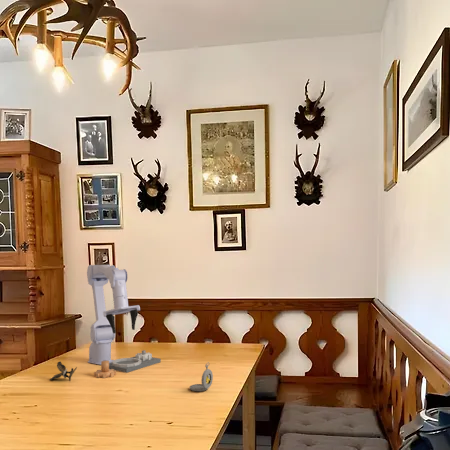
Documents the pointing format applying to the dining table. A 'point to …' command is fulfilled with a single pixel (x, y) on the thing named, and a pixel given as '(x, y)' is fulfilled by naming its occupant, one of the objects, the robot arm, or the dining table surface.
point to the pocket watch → (204, 381)
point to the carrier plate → (134, 362)
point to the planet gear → (105, 370)
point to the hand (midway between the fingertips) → (123, 331)
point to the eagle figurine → (63, 372)
